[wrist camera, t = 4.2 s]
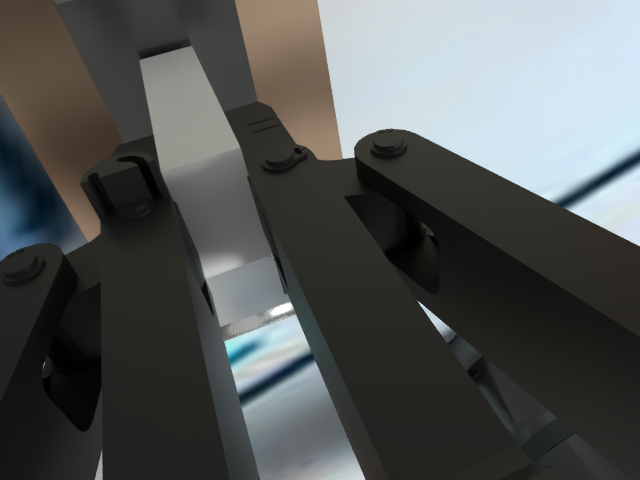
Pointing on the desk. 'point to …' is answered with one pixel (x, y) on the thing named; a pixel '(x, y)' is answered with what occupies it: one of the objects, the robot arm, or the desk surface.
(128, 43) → the silver metal piece
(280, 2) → the base
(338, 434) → the desk surface
